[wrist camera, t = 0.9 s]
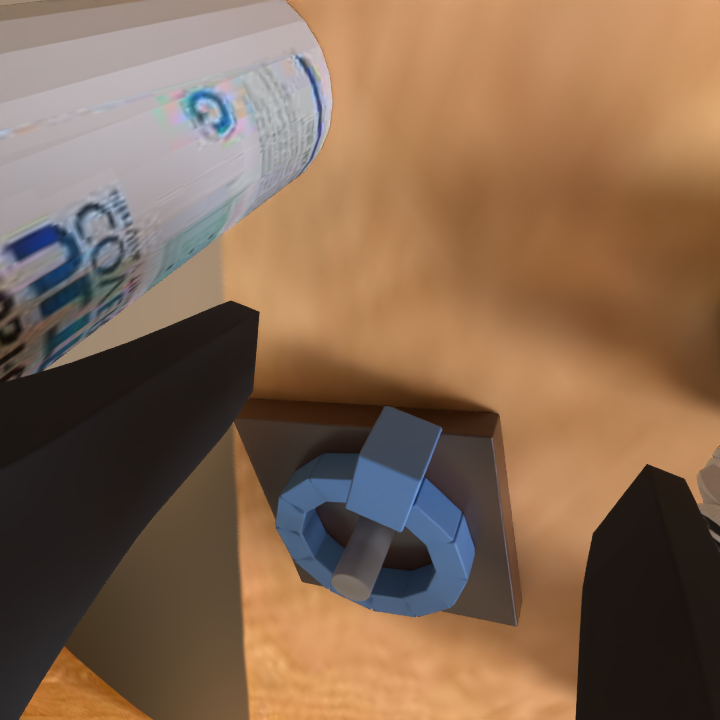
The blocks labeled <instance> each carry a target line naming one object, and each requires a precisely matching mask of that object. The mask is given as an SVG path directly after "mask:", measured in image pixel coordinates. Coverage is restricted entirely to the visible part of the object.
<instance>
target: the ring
mask: <svg viewBox="0 0 720 720" xmlns="http://www.w3.org/2000/svg"><path fill="white" fill-rule="evenodd" d="M441 431H442V427H440V426H438V425H435V424H433V423H430V422H428V421H425V420H423V419H420V418H418V417H415V416H413V415H410V414H408V413H405V412H403V411H400V410H398V409H395V408H393V407H390V406H388V405H386V406H384V408H383V410H382V412H381V414H380V416H379V417H378V419H377V421H376V423H375V425H374V427H373V429H372V431H371V433H370V434H369V436H368V438H367V440H366V442H365V444H364V446H363V448H362V449H361V451H360V453H359V454H349V453H325V454H324V455H323V454H321V455H320V456H318V457H317V458H315V459H314V460H312V461H310V462H309V463H307V464H306V465H304V466H303V467H301V468H300V469H298V470H297V471H295V472H294V474H293V475H292V477H291V479H290V480H289V482H288V483H287V485H286V486H285V488H284V490H283V491H282V493H281V494H280V496H279V500H278V508H277V515H276V522H275V525H276V529H277V531H278V533H279V535H280V536H281V538H282V540H283V542H284V544H285V546H286V547H287V549H288V551H289V553H290V555H291V557H292V558H293V559H295V562H296V563H297V564H299V565H300V566H301V567H302V568H303V569H304V570H306V571H307V572H308V573H309V574H310V575H311V576H313V577H314V578H315V579H316V580H317V581H318V582H320V583H321V584H322V585H323V586H324V587H325V588H327V589H328V588H330V591H332V592H334V593H336V594H338V595H340V596H342V597H344V598H346V597H345V596H343V595H341V594H340V593H339V592H337V591H336V590H335V588H334V587H333V585H332V583H331V577H332V575H333V573H334V571H335V569H336V567H337V564H338V562H339V560H340V558H341V556H342V554H343V552H344V550H345V548H344V547H342V546H341V545H340V544H339V543H338V542H337V541H336V540H334V539H333V538H332V537H331V536H330V535H329V534H328V533H327V532H326V530H325V528H324V526H323V524H322V522H321V520H320V518H319V516H318V514H317V512H316V510H315V508H316V507H317V506H319V505H321V504H322V503H324V502H326V501H328V502H345V503H346V505H345V508H346V509H348V510H351V511H353V512H355V513H357V514H360V515H362V516H364V517H366V518H369V519H371V520H373V521H376V522H378V523H380V524H382V525H385V526H387V527H389V528H392V529H394V530H396V531H398V532H402V531H403V529H404V526H405V527H407V528H408V529H409V530H410V531H411V532H412V533H413V534H414V535H415V536H416V537H418V538H419V539H420V540H421V541H422V542H423V543H424V544H425V545H426V547H427V549H428V552H429V555H430V557H431V560H432V562H433V563H432V564H429V565H427V566H424V567H421V568H418V569H416V570H413V571H409V570H401V569H392V568H383V567H381V569H380V572H379V574H378V577H377V579H376V582H375V584H374V587H373V589H372V592H371V594H370V597H369V598H368V599H366V600H364V601H355V600H351V599H349V598H347V599H349V600H351V601H353V602H355V603H357V604H359V605H361V606H364V607H366V608H368V609H373V611H378V612H384V613H391V614H397V615H404V616H410V617H416V616H417V617H420V616H424V615H427V614H431V613H434V612H438V611H441V610H445V609H449V608H451V607H452V606H454V604H455V603H456V601H457V599H458V597H459V596H460V594H461V592H462V590H463V589H464V587H465V585H466V583H467V581H468V578H469V575H470V571H471V567H472V563H473V559H474V556H475V548H474V545H473V542H472V539H471V535H470V532H469V529H468V526H467V523H466V520H465V517H464V515H463V514H461V513H462V512H461V510H460V509H459V508H458V507H457V506H455V505H454V504H453V503H452V502H451V501H450V500H449V499H448V498H447V497H446V496H445V495H444V494H443V493H442V492H441V491H440V490H438V489H437V488H436V487H435V486H434V485H433V484H432V483H431V482H430V481H429V480H428V479H427V478H424V475H425V473H426V470H427V467H428V465H429V462H430V460H431V457H432V454H433V452H434V449H435V447H436V444H437V441H438V439H439V436H440V434H441Z"/></svg>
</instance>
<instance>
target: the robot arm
mask: <svg viewBox="0 0 720 720" xmlns="http://www.w3.org/2000/svg"><path fill="white" fill-rule="evenodd" d="M259 313H260V312H259V311H256V310H254V309H251V308H249V307H246V306H244V305H241V304H239V303H236V302H234V301H228V302H226V303H223V304H220V305H218V306H215V307H213V308H211V309H208V310H206V311H203V312H201V313H199V314H196V315H194V316H192V317H189V318H187V319H184V320H182V321H180V322H177V323H175V324H173V325H170V326H168V327H165V328H163V329H160V330H158V331H155V332H153V333H150V334H148V335H145V336H143V337H140V338H138V339H135V340H133V341H130V342H128V343H125V344H122V345H120V346H117V347H114V348H111V349H108V350H105V351H103V352H100V353H97V354H94V355H91V356H88V357H86V358H83V359H80V360H78V361H74V362H72V363H69V364H65V365H62V366H59V367H56V368H52V369H49V370H46V371H42V372H39V373H35V374H32V375H28V376H24V377H20V378H17V379H13V380H9V381H6V382H2V383H0V720H19V718H20V717H21V715H22V713H23V712H24V710H25V708H26V707H27V705H28V703H29V702H30V700H31V698H32V696H33V695H34V693H35V691H36V690H37V688H38V686H39V685H40V683H41V681H42V680H43V678H44V677H45V675H46V674H47V672H48V670H49V669H50V667H51V666H52V664H53V662H54V661H55V659H56V658H57V656H58V655H59V653H60V651H61V650H62V648H63V647H64V645H65V643H66V642H67V640H68V639H69V637H70V636H71V634H72V632H73V631H74V629H75V628H76V626H77V625H78V623H79V621H80V620H81V619H82V617H83V616H84V614H85V613H86V611H87V609H88V608H89V607H90V605H91V604H92V602H93V601H94V599H95V598H96V596H97V595H98V593H99V592H100V590H101V589H102V587H103V586H104V584H105V583H106V581H107V580H108V578H109V577H110V575H111V574H112V573H113V571H114V570H115V568H116V567H117V565H118V564H119V563H120V561H121V560H122V558H123V557H124V556H125V554H126V553H127V551H128V550H129V548H130V547H131V546H132V544H133V543H134V541H135V540H136V538H137V537H138V536H139V535H140V533H141V532H142V531H143V529H144V528H145V527H146V526H147V524H148V523H149V522H150V521H151V519H152V518H153V517H154V516H155V515H156V513H157V512H158V511H159V510H160V509H161V507H162V506H163V505H164V504H165V503H166V502H167V501H168V499H169V498H170V497H171V496H172V495H173V494H174V493H175V491H176V490H177V489H178V488H179V487H180V486H181V484H182V483H183V482H184V481H185V480H186V479H187V477H188V476H189V475H190V474H191V473H192V472H193V471H194V469H195V468H196V467H197V466H198V465H199V464H200V462H201V461H202V460H203V459H204V458H205V457H206V455H207V454H208V453H209V452H210V451H211V449H212V448H213V447H214V446H215V445H216V444H217V442H218V441H219V440H220V439H221V438H222V436H223V435H224V434H225V433H226V431H227V430H228V429H229V427H230V426H231V424H232V423H233V421H234V420H235V418H236V417H237V415H238V414H239V412H240V411H241V409H242V407H243V406H244V404H245V403H246V401H247V400H248V398H249V396H250V395H251V393H252V392H253V385H254V373H255V361H256V349H257V337H258V325H259ZM576 720H720V552H719V549H718V547H717V545H716V543H715V541H714V539H713V537H712V535H711V533H710V531H709V529H708V526H707V524H706V522H705V520H704V518H703V516H702V514H701V512H700V510H699V507H698V505H697V503H696V501H695V499H694V497H693V495H692V493H691V491H690V489H689V487H688V485H687V483H686V481H685V479H684V478H681V477H679V476H676V475H674V474H671V473H669V472H666V471H663V470H661V469H658V468H656V467H653V466H651V465H648V464H647V465H646V466H645V467H644V468H643V470H642V471H641V472H640V474H639V475H638V476H637V478H636V479H635V480H634V481H633V483H632V484H631V485H630V487H629V488H628V489H627V490H626V492H625V493H624V494H623V496H622V497H621V498H620V499H619V501H618V502H617V503H616V505H615V506H614V507H613V508H612V510H611V511H610V512H609V514H608V515H607V516H606V517H605V519H604V520H603V521H602V523H601V524H600V525H599V526H598V528H597V529H596V530H595V532H594V533H593V536H592V541H591V546H590V551H589V556H588V561H587V566H586V572H585V577H584V583H583V590H582V605H581V623H580V641H579V662H578V682H577V702H576Z"/></svg>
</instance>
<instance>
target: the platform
mask: <svg viewBox="0 0 720 720" xmlns="http://www.w3.org/2000/svg"><path fill="white" fill-rule="evenodd" d="M383 408H384V407H382V406H366V405H349V404H332V403H315V402H298V401H281V400H264V399H248V400H247V401H246V403H245V404H244V406H243V407H242V409H241V411H240V412H239V414H238V415H237V417H236V418H235V420H234V423H235V425H236V428H237V430H238V432H239V435H240V437H241V439H242V442H243V444H244V446H245V449H246V451H247V454H248V456H249V458H250V461H251V463H252V465H253V468H254V470H255V472H256V475H257V477H258V479H259V482H260V484H261V487H262V489H263V491H264V494H265V496H266V498H267V501H268V503H269V505H270V508H271V510H272V512H273V515H274V517H275V519H276V515H277V508H278V500H279V496H280V494H281V493H282V491H283V490H284V488H285V486H286V485H287V483H288V482H289V480H290V479H291V477H292V475H293V474H294V472H295V471H297V470H298V469H300V468H301V467H303V466H304V465H306V464H307V463H309V462H310V461H312V460H314V459H315V458H317V457H318V456H320V455H321V454H323V455H324V454H325V453H349V454H359V453H360V451H361V449H362V448H363V446H364V444H365V442H366V440H367V438H368V436H369V434H370V433H371V431H372V429H373V427H374V425H375V423H376V421H377V419H378V417H379V416H380V414H381V412H382V410H383ZM393 408H395V409H398V410H400V411H403V412H405V413H408V414H410V415H413V416H415V417H418V418H420V419H423V420H425V421H428V422H430V423H433V424H435V425H438V426H440V427H442V431H441V434H440V436H439V439H438V441H437V444H436V447H435V449H434V452H433V454H432V457H431V460H430V462H429V465H428V467H427V470H426V473H425V475H424V478H427V479H428V480H429V481H430V482H431V483H432V484H433V485H434V486H435V487H436V488H437V489H438V490H440V491H441V492H442V493H443V494H444V495H445V496H446V497H447V498H448V499H449V500H450V501H451V502H452V503H453V504H454V505H455V506H457V507H458V508H459V509H460V510H461V512H462V513H461V514H463V515H464V517H465V520H466V523H467V526H468V529H469V532H470V535H471V539H472V542H473V545H474V548H475V556H474V559H473V563H472V567H471V571H470V575H469V578H468V581H467V583H466V585H465V587H464V589H463V590H462V592H461V594H460V596H459V597H458V599H457V601H456V603H455V604H454V606H452V607H451V608H449V609H445V610H441V611H443V612H448V613H453V614H458V615H463V616H467V617H472V618H477V619H482V620H487V621H491V622H496V623H501V624H506V625H510V626H515V627H517V626H518V623H519V617H520V611H521V605H522V596H521V587H520V579H519V571H518V563H517V555H516V546H515V538H514V530H513V522H512V514H511V505H510V497H509V489H508V481H507V473H506V464H505V456H504V448H503V440H502V432H501V423H500V416H499V414H498V413H484V412H467V411H450V410H433V409H416V408H399V407H393ZM345 505H346V503H345V502H328V501H326V502H324V503H322V504H321V505H319V506H317V507H316V508H315V510H316V512H317V514H318V516H319V518H320V520H321V522H322V524H323V526H324V528H325V530H326V532H327V533H328V534H329V535H330V536H331V537H332V538H333V539H334V540H336V541H337V542H338V543H339V544H340V545H341V546H342V547H344V548H345V550H344V552H343V554H342V556H341V558H340V560H339V562H338V564H337V567H336V569H335V571H334V573H333V575H332V577H331V583H332V585H333V587H334V588H335V590H336V591H337V592H339V593H340V594H341V595H343V596H345V597H346V598H349V599H351V600H355V601H364V600H366V599H368V598H369V597H370V594H371V592H372V589H373V587H374V584H375V582H376V579H377V577H378V574H379V572H380V569H381V567H383V568H392V569H401V570H409V571H413V570H416V569H418V568H421V567H424V566H427V565H429V564H432V563H433V562H432V560H431V557H430V555H429V552H428V549H427V547H426V545H425V544H424V543H423V542H422V541H421V540H420V539H419V538H418V537H416V536H415V535H414V534H413V533H412V532H411V531H410V530H409V529H408V528H407V527H405V526H404V529H403V531H402V532H398V531H396V530H394V529H392V528H389V527H387V526H385V525H382V524H380V523H378V522H376V521H373V520H371V519H369V518H366V517H364V516H362V515H360V514H357V513H355V512H353V511H351V510H348V509H346V508H345ZM292 560H293V562H294V564H295V567H296V569H297V571H298V574H299V576H300V578H301V581H302V582H305V583H309V584H314V585H319V586H323V585H322V584H321V583H320V582H318V581H317V580H316V579H315V578H314V577H313V576H311V575H310V574H309V573H308V572H307V571H306V570H304V569H303V568H302V567H301V566H300V565H299V564H297V563H296V562H295V559H293V558H292Z"/></svg>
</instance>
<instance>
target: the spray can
mask: <svg viewBox="0 0 720 720" xmlns="http://www.w3.org/2000/svg"><path fill="white" fill-rule="evenodd" d="M332 103H333V100H332V91H331V83H330V74H329V71H328V68H327V65H326V62H325V59H324V56H323V53H322V50H321V48H320V45H319V44H318V42H317V40H316V39H315V37H314V35H313V34H312V32H311V30H310V29H309V27H308V25H307V24H306V22H305V21H304V20H303V19H302V18H301V17H300V16H299V15H298V14H297V12H296V11H295V10H294V9H293V8H292V7H291V6H290V5H289V4H288V3H287V2H286V1H285V0H46V1H37V2H30V3H20V4H13V5H4V6H0V383H2V382H6V381H9V380H13V379H17V378H20V377H24V376H28V375H32V374H35V373H39V372H42V371H43V370H44V369H46V368H47V367H48V366H50V365H51V364H52V363H54V362H55V361H56V360H58V359H59V358H60V357H62V356H63V355H64V354H66V353H67V352H68V351H70V350H71V349H72V348H73V347H75V346H76V345H77V344H79V343H80V342H81V341H83V340H84V339H85V338H86V337H88V336H89V335H91V334H92V333H93V332H94V331H96V330H97V329H98V328H99V327H101V326H102V325H103V324H105V323H106V322H108V321H109V320H110V319H112V318H113V317H114V316H116V315H117V314H118V313H119V312H121V311H122V310H123V309H125V308H126V307H127V306H128V305H130V304H131V303H133V302H134V301H135V300H136V299H138V298H139V297H140V296H142V295H143V294H144V293H146V292H147V291H148V290H150V289H151V288H152V287H154V286H155V285H156V284H158V283H159V282H160V281H162V280H163V279H164V278H165V277H167V276H168V275H169V274H171V273H172V272H173V271H175V270H176V269H177V268H178V267H180V266H181V265H182V264H184V263H185V262H186V261H188V260H189V259H190V258H192V257H193V256H194V255H196V254H197V253H198V252H200V251H201V250H202V249H204V248H205V247H206V246H208V245H209V244H210V243H211V242H213V241H214V240H215V239H217V238H218V237H219V236H221V235H222V234H223V233H225V232H226V231H227V230H229V229H230V228H231V227H232V226H234V225H235V224H236V223H238V222H239V221H240V220H242V219H243V218H244V217H246V216H247V215H248V214H250V213H251V212H252V211H254V210H255V209H256V208H257V207H259V206H260V205H261V204H263V203H264V202H265V201H267V200H268V199H269V198H271V197H272V196H273V195H275V194H276V193H277V192H278V191H280V190H281V189H282V188H284V187H285V186H286V185H288V184H289V183H290V182H292V181H293V180H294V179H296V178H297V177H298V176H300V175H301V174H302V173H304V172H305V171H306V169H307V168H308V167H309V166H310V164H311V163H312V162H313V160H314V159H315V158H316V156H317V155H318V153H319V151H320V150H321V149H322V146H323V143H324V141H325V138H326V136H327V133H328V130H329V128H330V121H331V112H332Z"/></svg>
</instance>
